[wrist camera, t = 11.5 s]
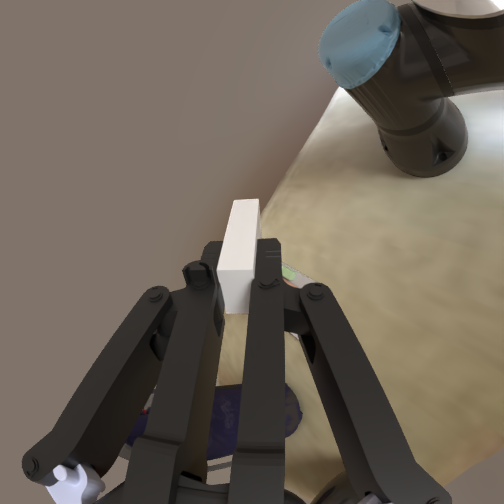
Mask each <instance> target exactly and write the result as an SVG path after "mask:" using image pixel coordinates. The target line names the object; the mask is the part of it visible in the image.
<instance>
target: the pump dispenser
mask: <svg viewBox="0 0 504 504" xmlns="http://www.w3.org/2000/svg"><path fill="white" fill-rule="evenodd" d="M360 501H361V499H360V498H359V497H358V495H357V493H356V492H355V490H354V488H353V487H352V484H351V482H350V480H349V477H348V475H347V472H346V471H344V472H342V473H340V474H338V475H337V476H336V477H334V478H333V479H332V480H331V481H330V482H329V483H328V484H327V485H326V486H325V487H324V488H323V489H322V490H321V491H320V492H319V493H318V494H317V495H316V497H315V498H314V499H313V500H312V502H311V503H310V504H358V503H359V502H360Z"/></svg>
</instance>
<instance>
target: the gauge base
mask: <svg viewBox="0 0 504 504" xmlns="http://www.w3.org/2000/svg"><path fill="white" fill-rule="evenodd" d="M282 267H283V268H282V277H283V278H284V279H286V280H287V281H289V282H291V283H292V284H294V285H295V286H297V287H298V288H302V287H303V286H304V285H306V284H308V283H314V282H316V281H314V280H313V279H311V278H309V277H307V276H306V275H304V274H302V273H301V272H299V271H297V270H295V269H294V268H292V267H290V266H288V265H287V264H285V263H283V262H282ZM317 283H318V282H317ZM331 291H332V290H331ZM291 334H292V335H294V336H295V337H296V338H297V339H298V340H299V338H298V334H294V333H291Z"/></svg>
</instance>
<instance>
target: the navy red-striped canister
mask: <svg viewBox="0 0 504 504" xmlns="http://www.w3.org/2000/svg"><path fill="white" fill-rule="evenodd" d="M241 392H242V384H236V385H226V386H215V393H214V400H213V407H212V414H211V422H210V429H209V436H208V444H207V452H206V459H207V461H208V460H213V459H217V458H221V457H225V456H229V455H233V453H234V451H235V449H236V445H237V436H238V425H239V414H240V403H241ZM154 393H155V389H154V390H153V392H152V393H151V395H150V397H149V399H148V401H147V403H146V404H145V406H144V408H143V411H142V412H141V414H140V416H139V417H138V419H137V421H136V423H135V425H134V427H133V429H132V430H131V432H130V434H129V436H128V438H127V440H126V442H125V444H124V446H123V448H122V449H121V451H120V453H119V455H118V456H120V457H122V458H124V459H127V460H129V459H130V455H131V450H132V446H133V444H134V441H135V440H136V438H137V437H138V436H140V435H142V434H143V433H144V432H145V429H146V425H147V421H148V416H149V412H150V408H151V404H152V400H153V397H154ZM302 414H303V413H302V412H301V411H300V407H299V402H298V400H297V398H296V396H295V394H294V393H293V391H292V390H291V389H290V388H289V387H288V386H287V384H286V383H285V438H286V437H288V436H290V435H291V434H293V433H294V431H295V430H296V429H297V427H298V424H300V421H301V419H302ZM231 465H232V461H231V462H227V463H222V464H218V465H213V466H208V471H207V472H209V471H214V470H218V469H223V468H227V467H230V466H231Z"/></svg>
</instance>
